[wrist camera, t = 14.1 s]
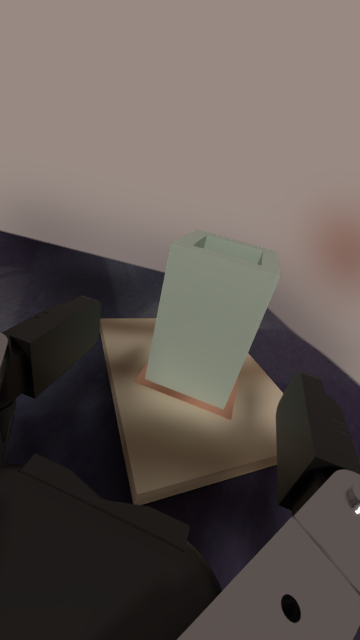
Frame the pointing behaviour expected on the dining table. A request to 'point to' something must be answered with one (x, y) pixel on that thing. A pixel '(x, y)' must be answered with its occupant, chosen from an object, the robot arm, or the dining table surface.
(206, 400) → the sleeve
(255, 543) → the dining table surface
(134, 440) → the post board
